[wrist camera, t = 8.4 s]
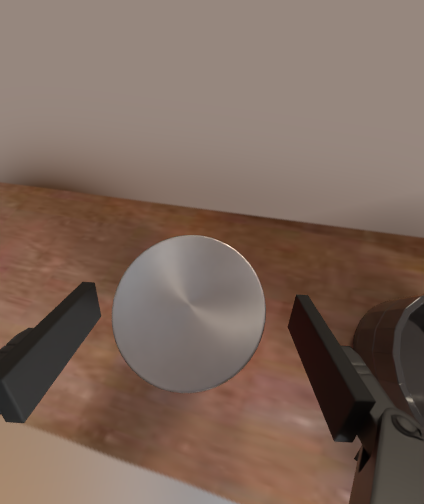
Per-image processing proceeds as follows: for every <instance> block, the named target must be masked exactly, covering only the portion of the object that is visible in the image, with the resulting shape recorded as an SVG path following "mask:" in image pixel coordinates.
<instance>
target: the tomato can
mask: <svg viewBox="0 0 424 504" xmlns="http://www.w3.org/2000/svg"><path fill="white" fill-rule="evenodd" d="M265 318H266V306H265V297H264V293H263V289H262V286H261V283H260V280H259V278H258V276H257V274H256V272H255V271H254V269H253V268H252V266H251V265H250V263H249V262H248V261H247V260H246V259H245V258H244V257H243V256H242V255H241V254H240V253H239V252H238V251H237V250H235V249H234V248H232V247H231V246H229V245H227V244H225V243H224V242H222V241H219V240H216V239H214V238H210V237H206V236H199V235H184V236H177V237H173V238H169V239H166V240H163V241H161V242H159V243H157V244H155V245H153V246H151V247H150V248H148V249H147V250H145V251H144V252H143V253H142V254H140V255H139V256H138V257H137V258H136V259H135V260H134V261H133V262H132V263H131V264H130V266H129V267H128V269H127V270H126V271H125V273H124V275H123V276H122V278H121V280H120V282H119V285H118V287H117V289H116V293H115V296H114V300H113V307H112V327H113V333H114V337H115V341H116V344H117V346H118V349H119V351H120V353H121V355H122V357H123V358H124V360H125V362H126V363H127V364H128V365H129V367H130V368H131V369H132V370H133V371H134V372H135V373H136V374H137V375H138V376H139V377H140V378H142V379H143V380H145V381H146V382H148V383H149V384H151V385H153V386H155V387H158V388H160V389H163V390H166V391H170V392H176V393H196V392H202V391H206V390H209V389H212V388H215V387H217V386H219V385H221V384H223V383H225V382H227V381H228V380H230V379H231V378H233V377H234V376H235V375H236V374H238V373H239V372H240V371H241V370H242V369H243V368H244V367H245V365H246V364H247V363H248V362H249V361H250V359H251V358H252V356H253V354H254V353H255V351H256V349H257V347H258V345H259V343H260V340H261V337H262V334H263V331H264V325H265Z"/></svg>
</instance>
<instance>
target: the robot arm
mask: <svg viewBox="0 0 424 504" xmlns="http://www.w3.org/2000/svg"><path fill="white" fill-rule="evenodd" d="M100 317H101V313H100V307H99V302H98V297H97V292H96V287H95V283H92V282H82V283H81V284H80V285H79V286H78V287H77V288H76V289H75V290H74V291H73V292H72V293H71V294H70V295H68V296H67V297H66V298H65V299H64V300H63V301H62V302H61V303H60V304H59V305H58V306H57V307H56V308H55V309H54V310H53V311H52V312H50V313H49V314H48V315H47V316H46V317H45V318H44V319H43V320H42V321H41V322H40V323H39V324H38V325H37V326H36V327H35V328H28V329H26V330H24V331H23V332H21V333H19V334H17V335H16V336H15V337H14V338H13V339H11V340H10V341H9V342H8V343H7V345H6V346H4V347H3V348H1V349H0V414H2V416H3V418H4V419H5V421H6V422H13V423H25V421H26V420H27V418H28V417H29V416H30V414H31V413H32V411H33V410H34V409H35V407H36V406H37V404H38V403H39V402H40V400H41V399H42V398H43V396H44V395H45V393H46V392H47V391H48V389H49V388H50V386H51V385H52V384H53V382H54V381H55V380H56V378H57V377H58V375H59V374H60V373H61V371H62V370H63V368H64V367H65V366H66V364H67V363H68V361H69V360H70V359H71V357H72V356H73V355H74V353H75V352H76V350H77V349H78V348H79V346H80V345H81V343H82V342H83V341H84V339H85V338H86V337H87V335H88V334H89V332H90V331H91V330H92V328H93V327H94V325H95V324H96V323H97V321H98V320H99V318H100ZM288 329H289V331H290V334H291V336H292V339H293V341H294V344H295V346H296V349H297V351H298V353H299V356H300V358H301V361H302V363H303V366H304V368H305V371H306V373H307V376H308V378H309V381H310V383H311V385H312V388H313V390H314V393H315V395H316V398H317V400H318V403H319V405H320V408H321V410H322V413H323V415H324V417H325V420H326V422H327V425H328V427H329V430H330V432H331V435H332V437H333V440H334V441H336V442H353V440H354V439H355V437H356V435H358V437H359V439H360V441H361V443H362V446H361V448H360V450H359V451H358V453H357V454H356V456H355V458H354V459H355V460H356V461H358V462H357V467H356V472H355V476H354V481H353V486H352V491H351V496H350V501H349V504H424V428H423V427H422V426H421V425H420V424H419V423H418V422H417V421H416V420H415V419H414V418H413V417H411V416H410V415H409V414H407V413H406V412H404V411H402V410H400V409H397V407H396V406H395V405H394V404H393V402H392V401H391V399H390V398H389V396H388V395H387V394H386V392H385V391H384V389H383V388H382V387H381V385H380V384H379V382H378V381H377V379H376V378H375V377H374V375H372V372H371V371H370V370H369V368H368V367H367V366H366V364H365V362H364V361H363V360H362V358H361V357H360V355H359V354H358V353H356V352H355V351H354V350H353V349H352V348H351V347H350V346H340V344H339V343H338V341H337V340H336V338H335V337H334V335H333V334H332V332H331V330H330V329H329V327H328V326H327V324H326V323H325V321H324V319H323V318H322V316H321V315H320V313H319V312H318V310H317V309H316V307H315V305H314V304H313V302H312V301H311V299H310V298H309V296H308V295H296V297H295V301H294V305H293V309H292V313H291V317H290V321H289V324H288Z"/></svg>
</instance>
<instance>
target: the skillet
mask: <svg viewBox="0 0 424 504" xmlns="http://www.w3.org/2000/svg"><path fill="white" fill-rule="evenodd" d="M353 350H354V351H355V352H356V353H358V354H359V355H360V357H361V358H362V360H363V361H364V362H365V364H366V366H367V367H368V368H369V370H370V371H371V372H372V375H374V377H375V378H376V379H377V381H378V382H379V384H380V385H381V387H382V388H383V389H384V391H385V392H386V394H387V395H388V396H389V398H390V399H391V401H392V402H393V404H394V405H395V406H396V407H397V409H400V410H402V411H404V412H406V413H407V414H409V415H410V416H411V417H413V418H414V419H415V420H416V421H417V422H418V423H419V424H420V425H421V426H422V427H423V428H424V294H419V295H414V296H408V297H403V298H398V299H394V300H389V301H386V302H382V303H380V304H378V305H376V306H374V307H373V308H372V309H370V310H369V311H368V312H367V313H366V314H365V315H364V317H363V318H362V319H361V321H360V323H359V325H358V327H357V329H356V333H355V336H354V343H353Z"/></svg>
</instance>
